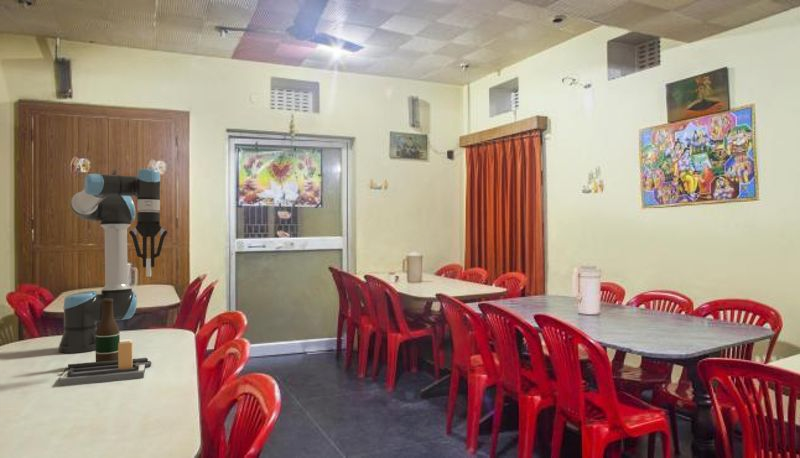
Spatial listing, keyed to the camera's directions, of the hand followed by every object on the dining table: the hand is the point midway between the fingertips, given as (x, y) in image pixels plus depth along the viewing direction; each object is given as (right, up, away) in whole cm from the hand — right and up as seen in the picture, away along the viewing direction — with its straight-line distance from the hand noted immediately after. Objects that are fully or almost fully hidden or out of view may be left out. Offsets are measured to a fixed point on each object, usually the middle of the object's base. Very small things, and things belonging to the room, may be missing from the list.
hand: (148, 276), depth 198 cm
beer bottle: (-16, -33, +2) cm, 36 cm away
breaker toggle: (-1, -30, -14) cm, 33 cm away
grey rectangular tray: (-7, -32, -17) cm, 37 cm away
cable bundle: (-11, -32, -7) cm, 35 cm away
